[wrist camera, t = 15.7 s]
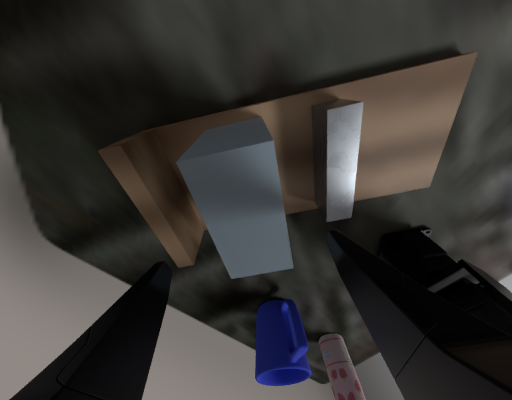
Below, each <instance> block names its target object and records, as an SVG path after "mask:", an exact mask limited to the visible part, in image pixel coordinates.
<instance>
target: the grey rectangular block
mask: <svg viewBox="0 0 512 400" xmlns="http://www.w3.org/2000/svg"><path fill="white" fill-rule="evenodd" d="M363 104H364V102H362V101H354V100H347V99H337V100H333V101H328V102H324V103H320V104H316V105H311V106H312V134H313V162H314V190H315V203H316V205H317V207H318V208H319V210H320V212H321V214H322V215H323V217H324V219H325V220H326V222H330V221H336V220H341V219H346V218H352V210H353V201H354V191H355V181H356V172H357V162H358V152H359V143H360V133H361V123H362V114H363Z"/></svg>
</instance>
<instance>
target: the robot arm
mask: <svg viewBox="0 0 512 400" xmlns="http://www.w3.org/2000/svg"><path fill="white" fill-rule="evenodd" d="M431 233H432V230H431V229H430V228H422V229H416V230H410V231H405V232H399V233H394V234H388V235H384V236H383V237H382V239H381V243H380V247H379V251H378V256H376V255H374V254H373V253H371V252H370V251H368V250H367V249H365V248H364V247H362V246H361V245H359V244H358V243H356V242H355V241H353V240H352V239H350V238H349V237H347V236H346V235H344V234H343V233H341V232H340V231H338V230H336V229H332V230H328V232H327V243H328V247H329V249H330V252H331V254H332V257H333V260H334V262H335V265H336V267H337V270H338V272H339V274H340V276H341V278H342V280H343V282H344V284H345V286H346V288H347V290H348V292H349V294H350V295H351V297H352V299H353V301H354V303H355V305H356V307H357V309H358V311H359V313H360V315H361V316H362V318H363V320H364V322H365V324H366V326H367V328H368V330H369V332H370V334H371V336H372V338H373V339H374V341H375V343H376V345H377V347H378V349H379V351H380V353H381V355H382V357H383V358H384V360H385V362H386V364H387V366H388V368H389V370H390V372H391V374H392V376H393V378H395V382H396V384H397V385H398V387H399V389H400V391H401V393H402V395H403V397H404V399H405V400H512V293H511V292H510V291H509V290H508V289H507V288H506V287H504V286H503V285H502V284H500V283H499V282H498V281H496V280H495V279H494V278H492V277H491V276H490V275H488V274H487V273H486V272H484V271H483V270H481V269H479V268H478V267H476V266H474V265H472V264H470V263H468V262H467V261H465V260H463V259H461V260H460V261H458V263H456V262H455V261H454V260H453V259H451V258H450V257H449V256H448V255H447V252H446V251H444V250H443V249H442V248H441V247H440V246H438V245H437V244H436V243H435V242H434V241H432V240H431V239H430V238H429V237H430V235H431ZM171 277H172V270H171V268H170V267H169V266H168V264H167V263H166V262H165V261H161V262H157V263H155V264H154V265H153V266H152V267H151V268H150V269H149V270H148V271H147V272H146V273H145V274H144V275H143V276H142V277H141V278H140V279H139V280H138V281H137V282H136V283H135V284H134V285H133V286H132V287H131V288H130V289H129V290H128V291H127V292H125V293H124V295H122V296H121V297H120V298H119V299H118V300H117V301H116V302H115V303H114V304H113V305H112V306H111V307H110V308H109V309H108V310H107V311H106V312H105V313H104V314H103V315H102V316H101V317H100V318H99V319H98V320H97V321H96V322H94V323H93V324H92V326H91V327H89V328H88V329H87V330H86V331H85V332H84V333H83V334H82V335H81V336H80V337H79V338H78V339H77V340H76V341H75V342H74V343H73V344H72V345H70V346H69V347H68V348H67V349H66V350H65V351H64V352H63V353H62V354H61V355H60V356H58V357H57V358H56V359H55V360H54V361H53V362H52V363H51V364H49V365H48V366H47V367H46V368H45V369H44V370H43V371H42V372H41V373H39V374H38V375H37V376H36V377H35V378H34V379H33V380H31V382H29V383H28V384H27V385H26V386H25V387H24V388H22V389H21V390H20V391H19V392H18V393H17V394H16V395H14V396H13V397H12V398H11V399H10V400H142V396H143V392H144V388H145V384H146V381H147V377H148V373H149V369H150V366H151V362H152V358H153V354H154V351H155V347H156V343H157V339H158V336H159V331H160V328H161V324H162V320H163V317H164V313H165V309H166V305H167V301H168V296H169V290H170V284H171ZM478 281H479V282H480V283H479V284H475V283H476V282H478Z"/></svg>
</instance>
